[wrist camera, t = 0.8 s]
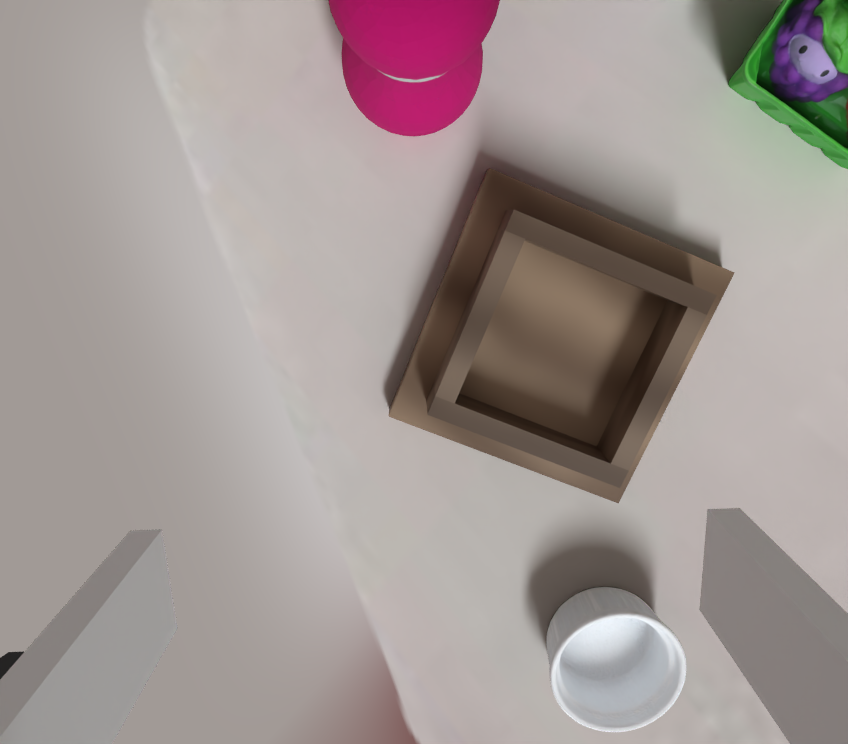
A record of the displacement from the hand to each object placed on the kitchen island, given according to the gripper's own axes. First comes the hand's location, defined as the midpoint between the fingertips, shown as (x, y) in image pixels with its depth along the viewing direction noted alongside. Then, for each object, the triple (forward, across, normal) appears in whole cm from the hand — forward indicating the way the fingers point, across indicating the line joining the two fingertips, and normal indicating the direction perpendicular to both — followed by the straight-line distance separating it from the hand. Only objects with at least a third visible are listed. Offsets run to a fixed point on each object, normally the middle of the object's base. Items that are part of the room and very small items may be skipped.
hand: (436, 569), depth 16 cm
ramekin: (+26, +12, -22) cm, 36 cm away
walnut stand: (+26, +8, 0) cm, 28 cm away
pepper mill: (+27, 0, +15) cm, 31 cm away
